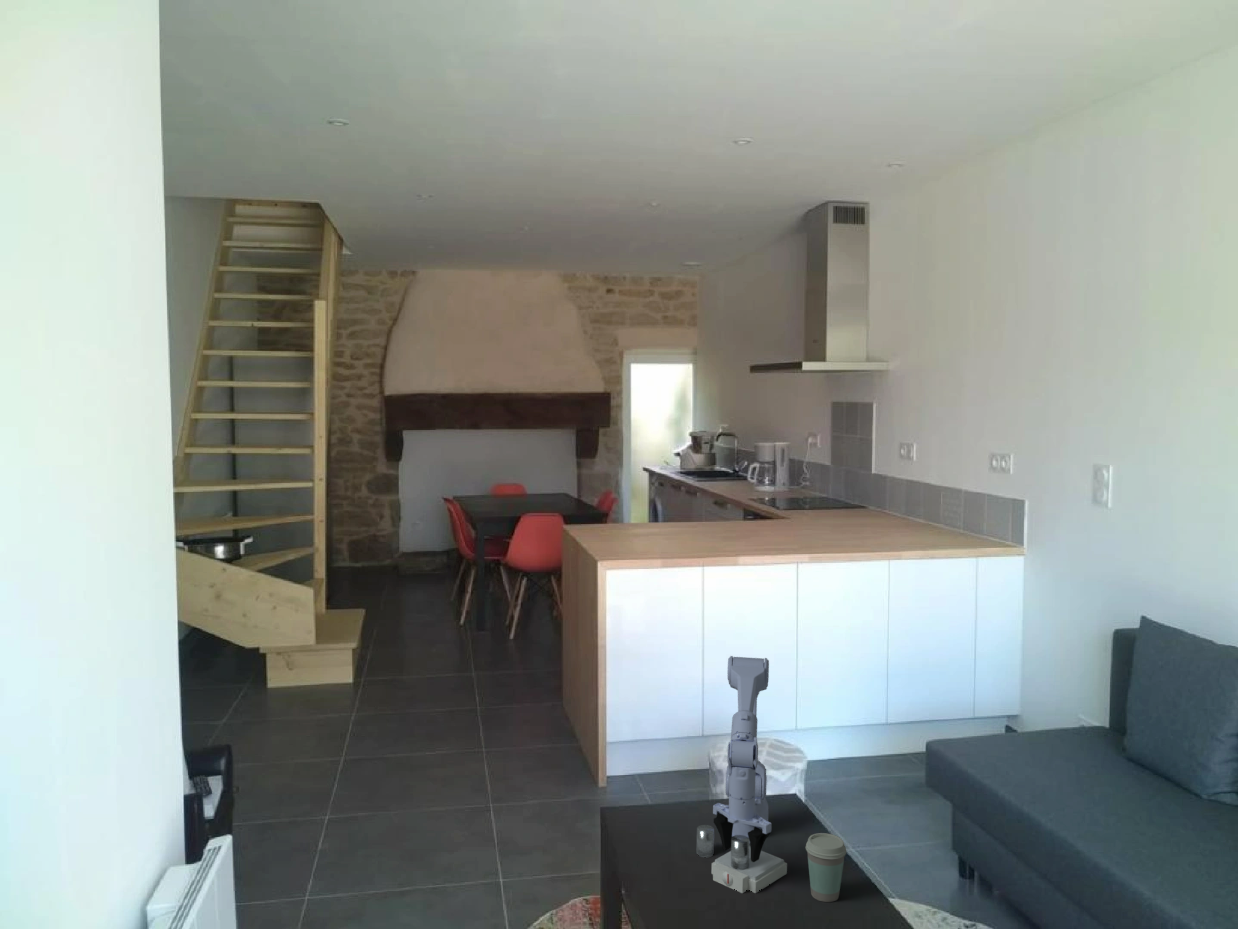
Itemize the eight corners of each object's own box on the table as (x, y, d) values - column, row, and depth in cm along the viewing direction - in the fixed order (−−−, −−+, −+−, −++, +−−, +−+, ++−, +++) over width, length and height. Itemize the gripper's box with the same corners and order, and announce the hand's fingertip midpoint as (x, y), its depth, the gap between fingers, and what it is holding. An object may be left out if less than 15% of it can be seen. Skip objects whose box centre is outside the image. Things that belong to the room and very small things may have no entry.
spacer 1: (703, 848, 221) (704, 823, 221) (717, 853, 218) (717, 828, 218) (693, 853, 218) (693, 828, 218) (706, 859, 216) (706, 834, 215)
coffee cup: (847, 889, 203) (848, 835, 202) (843, 909, 195) (844, 853, 194) (807, 882, 206) (808, 829, 205) (801, 901, 198) (803, 846, 197)
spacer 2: (739, 859, 209) (739, 833, 209) (752, 866, 206) (753, 839, 206) (727, 865, 207) (727, 838, 206) (740, 871, 203) (741, 845, 203)
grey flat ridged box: (743, 855, 218) (743, 842, 217) (786, 873, 209) (787, 859, 209) (704, 877, 207) (705, 863, 207) (748, 897, 199) (749, 883, 199)
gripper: (704, 790, 208) (704, 849, 209) (758, 810, 198) (757, 872, 199) (724, 781, 213) (723, 839, 214) (777, 800, 203) (776, 860, 204)
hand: (740, 854), depth 206 cm, fingers open, 7 cm apart
